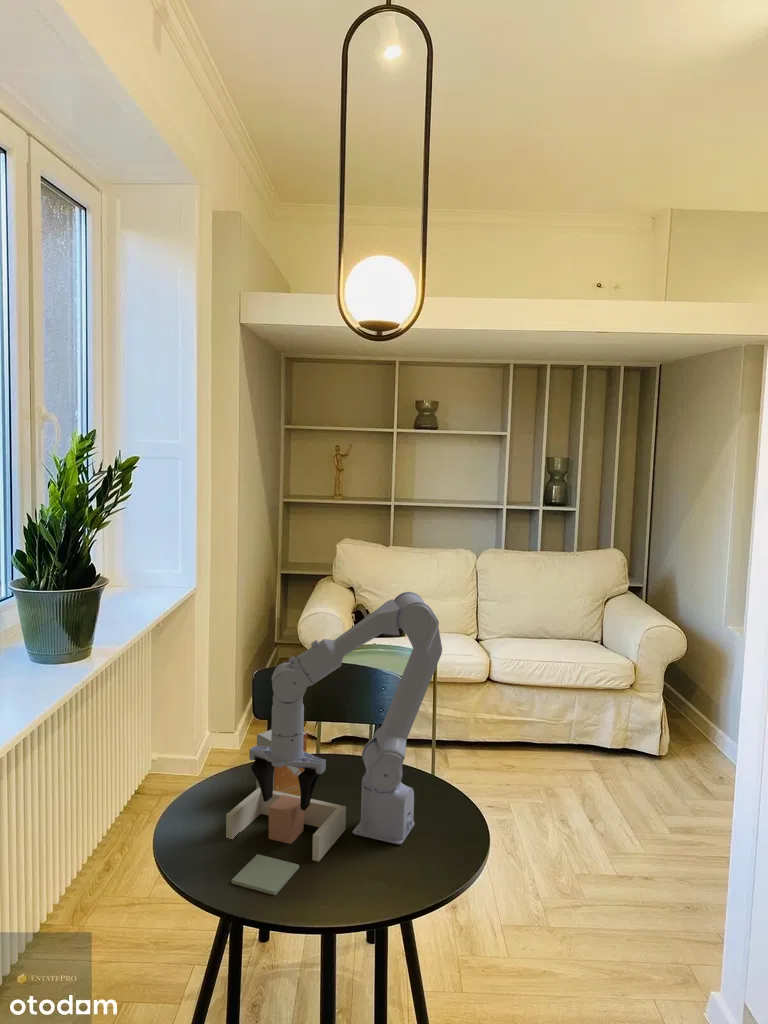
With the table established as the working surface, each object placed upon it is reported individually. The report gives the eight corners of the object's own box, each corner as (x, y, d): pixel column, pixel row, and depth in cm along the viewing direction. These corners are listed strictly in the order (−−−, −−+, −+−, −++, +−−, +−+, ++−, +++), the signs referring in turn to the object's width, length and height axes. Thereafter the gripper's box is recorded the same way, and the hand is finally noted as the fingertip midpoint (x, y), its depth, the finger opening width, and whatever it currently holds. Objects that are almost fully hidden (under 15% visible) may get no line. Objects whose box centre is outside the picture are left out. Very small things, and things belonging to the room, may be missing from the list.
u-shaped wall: (345, 829, 134) (345, 806, 134) (318, 861, 124) (319, 836, 124) (258, 809, 141) (258, 787, 140) (226, 838, 131) (226, 814, 130)
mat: (298, 868, 122) (299, 864, 122) (275, 895, 115) (275, 891, 114) (257, 857, 125) (257, 854, 125) (231, 883, 117) (231, 879, 117)
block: (303, 830, 134) (304, 799, 133) (290, 844, 129) (291, 812, 129) (282, 825, 136) (282, 794, 135) (268, 838, 131) (268, 807, 130)
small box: (273, 807, 142) (274, 743, 141) (255, 796, 146) (255, 733, 145) (306, 794, 147) (307, 732, 146) (288, 783, 152) (288, 723, 151)
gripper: (240, 731, 129) (239, 805, 131) (314, 746, 124) (312, 822, 126) (261, 718, 136) (260, 788, 137) (331, 731, 131) (329, 803, 132)
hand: (286, 803), depth 132 cm, fingers open, 7 cm apart
